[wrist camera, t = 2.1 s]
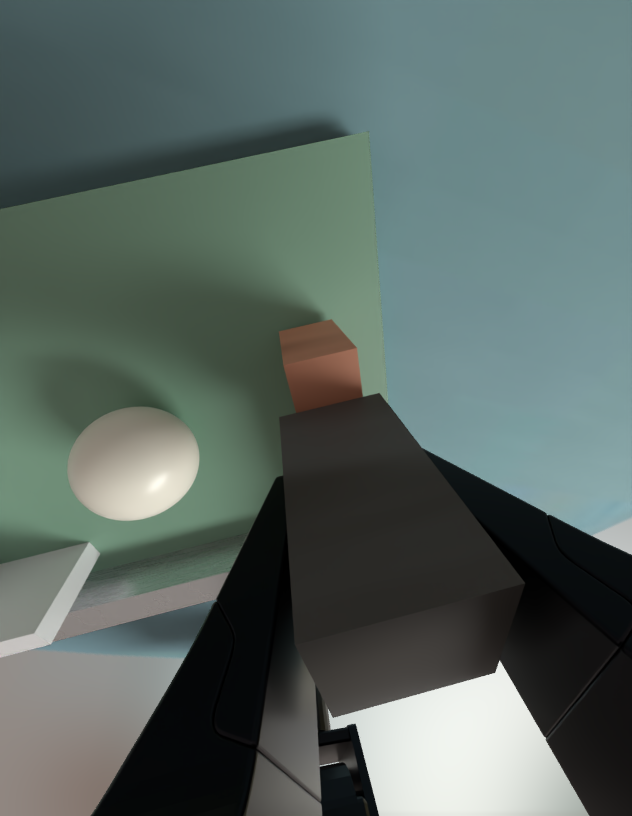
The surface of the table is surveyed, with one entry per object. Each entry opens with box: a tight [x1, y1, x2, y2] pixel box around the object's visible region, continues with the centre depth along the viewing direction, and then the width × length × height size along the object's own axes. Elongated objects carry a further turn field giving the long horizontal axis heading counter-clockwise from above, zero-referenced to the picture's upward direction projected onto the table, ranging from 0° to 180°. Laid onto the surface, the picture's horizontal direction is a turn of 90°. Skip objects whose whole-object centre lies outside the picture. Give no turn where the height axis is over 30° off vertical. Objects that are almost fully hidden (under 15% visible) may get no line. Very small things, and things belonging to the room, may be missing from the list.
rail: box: [53, 533, 248, 642], centre depth 16 cm, size 2×21×2 cm, turn 103°
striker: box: [279, 319, 525, 718], centre depth 10 cm, size 13×3×9 cm, turn 13°
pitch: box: [0, 131, 388, 573], centre depth 13 cm, size 18×22×1 cm
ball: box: [67, 406, 199, 521], centre depth 10 cm, size 4×4×4 cm
